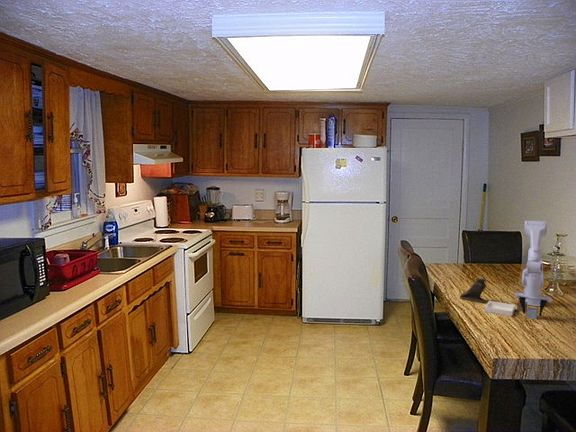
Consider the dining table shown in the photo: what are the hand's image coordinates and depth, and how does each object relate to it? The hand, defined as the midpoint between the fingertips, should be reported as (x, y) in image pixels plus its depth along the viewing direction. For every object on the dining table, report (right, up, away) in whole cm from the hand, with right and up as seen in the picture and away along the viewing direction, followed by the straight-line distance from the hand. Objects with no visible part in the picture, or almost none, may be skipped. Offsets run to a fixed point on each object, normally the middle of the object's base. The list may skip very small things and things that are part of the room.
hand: (532, 314), depth 209 cm
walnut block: (+1, 0, +10) cm, 10 cm away
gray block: (0, -2, 0) cm, 2 cm away
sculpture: (-17, +1, +28) cm, 32 cm away
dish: (-11, 0, +9) cm, 14 cm away
